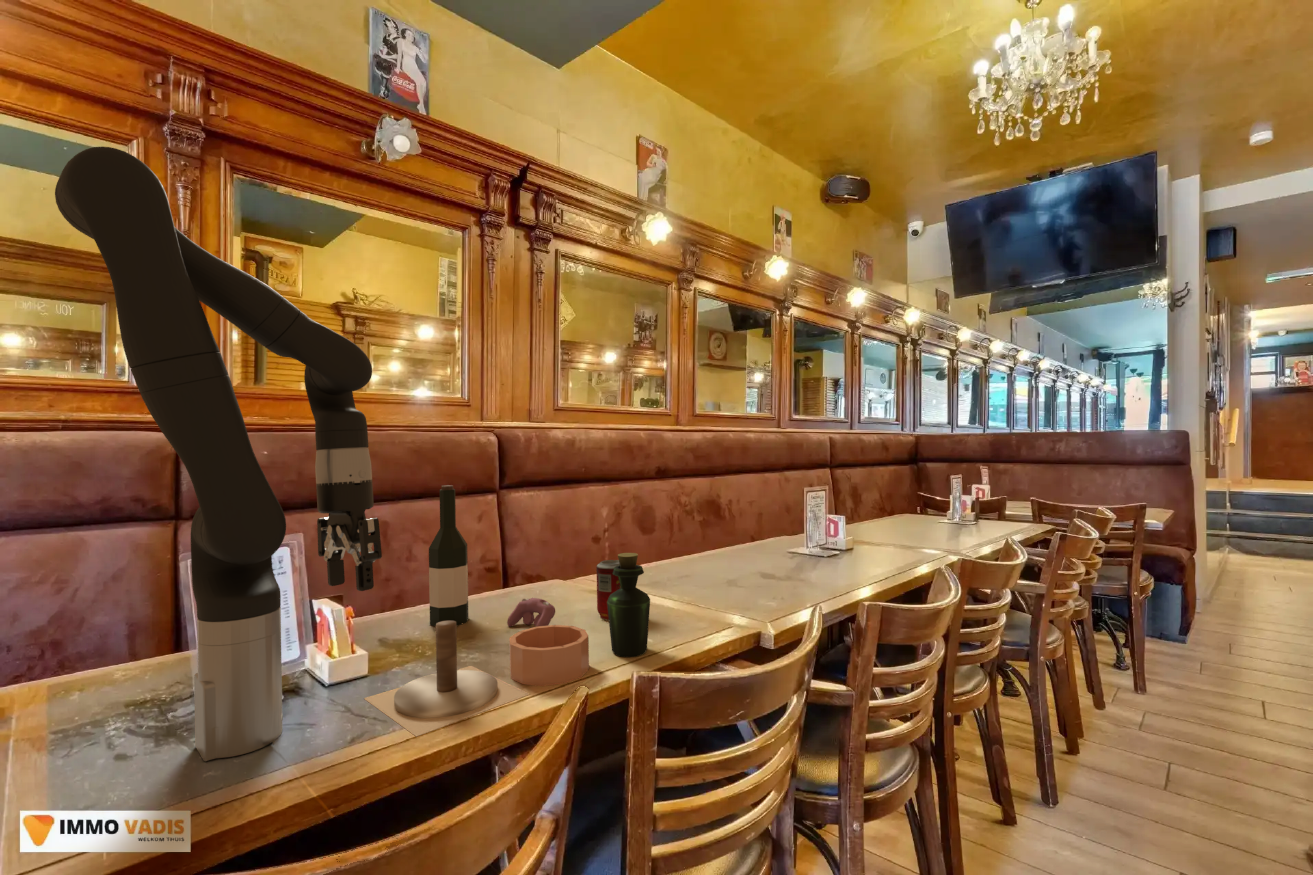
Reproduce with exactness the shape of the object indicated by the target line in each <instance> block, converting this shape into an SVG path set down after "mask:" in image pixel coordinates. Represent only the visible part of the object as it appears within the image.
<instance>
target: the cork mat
mask: <svg viewBox="0 0 1313 875" xmlns="http://www.w3.org/2000/svg"><path fill="white" fill-rule="evenodd" d="M457 670H474V671H481V672H484V671H483V670H481V669H480V668H479V669H478V668H477V667H475V666H473V665H469V666H465V667H460V668H459V669H458V668H457ZM494 677H495V676H494ZM495 678H496V679H497V684H498V691H497V694H496V696H495V697H494V698H493V699H492V700H491V701H490V702H488V703H487V704H485V705H483V706H481V707H479V708H477V709H475V710H472V711H469V712H466V713H462V714H459V715H454V716H449V717H441V718H414V717H409V716H405V715H403V714H401V713H399V712H398V711H396V709H395V707H394V695H395V693H396V692H397V690H398V689H399V688H401V687H402V686H400V687H397V688H394V689H391V690H390V689H389V690H387V691H383V692H380V693H377V694H372V695H371V696H370V695H369V696H367V697H364V698H363V699H364V700H365V701H366V702H368V703H369V704H371V705H372V707H374V708H376V709H377V710H379V711H380V712H382V713H383V714H384V715H386V716H387V717H388V718H390V719H391V720H392V721H394V722H395V723H397V724H398V725H399V726H401V727H402V728H404V730H406V731H407V732H409V733H411V734H412V735H413V736H414V737H416V738H417V737H419V736H422V735H424V734H427V733H430V732H434V731H435V730H439V729H440V728H443V727H446V726H448V725H449V726H450V725H451V724H455V723H458V722H460V721H462V720H465V719H467V718H471V717H473V716H475V715H479V714H481V713H484V712H487V711H489V710H492V709H495V708H498V707H501V706H503V705H505V704H508V703H511V702H513V701H516V700H519V699H522V698H524V697H527V696H529V695H531V694H530V693H529V692H527V691H525V690H523V689H520V688H518V687H516V686H515V685H513V684H510V683H508V682H506V681H504V680H502V679H500V678H498V677H495Z"/></svg>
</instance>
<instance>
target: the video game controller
mask: <svg viewBox="0 0 1313 875" xmlns="http://www.w3.org/2000/svg"><path fill="white" fill-rule="evenodd" d="M534 613H537V615H536V616H535V614H534ZM555 614H556V608H555V606H554V605H553V604H552V603H550V602H549V601H547V600H545V599H542V598H538V597H531V598H522V600H521V601H519V602H518V603H517V605H516V606H515V608H514V610H513V611H512V612H511V613H510V615H509V616H508V618H507V622H506V623H507V626H508V627H509V628H511V626H512V627H513V626H515V625H517V624H518V623H519V622H520V621H521V620H522V622H523V624H524V625H527V626H531V625H532V624H533V625H534V627H538V626H548V625H550V623H551V621H552V620H553V618H555V617H554V616H555Z"/></svg>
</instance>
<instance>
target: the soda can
mask: <svg viewBox="0 0 1313 875" xmlns="http://www.w3.org/2000/svg"><path fill="white" fill-rule="evenodd" d="M618 565H620V564H619V559H609V560H608V559H607V560H602V561H600V562H599V563H598V564H597V565H596V569H595V570H596V611H597V612H598V615H599V617H600V619H601V620H604V621H609V617H608V608H607V600H608V598H609V596H610V595H611V594H612V593H614V592H615V591H617V590H618V589H620V588H621V586H620V582H619V579H618V576H615V575H613V570H614V567H615V566H618Z"/></svg>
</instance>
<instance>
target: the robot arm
mask: <svg viewBox="0 0 1313 875" xmlns="http://www.w3.org/2000/svg"><path fill="white" fill-rule="evenodd" d="M58 177H59V178H58V179H57V182H56V185H55V189H54V198H55V204H56V205H57V209H58V211H59V212H60V214H61V215H62V217H63V218H64V219H65V220H66V222H68V224H69V225H70V226H72V227H73V228H74V229H76V230H77V231H78V232H80V233H82V234H83V235H85V236H86V237H89V238H91V239H93V240H94V242H95V244H96V247H97V248H98V250H99V253H100V254H101V257H102V259H103V261H104V264H105V267H106V269H107V270H108V273H109V277H110V280H111V282H112V286H113V287H112V288H113V291H114V298H115V305H116V306H115V307H116V314H117V321H118V325H119V326H118V327H119V331H120V337H121V342H122V343H121V344H122V347H123V351H124V354H125V357H126V361H127V364H128V367H129V368H130V372H131V375H132V376H133V379H134V382H135V384H136V387H137V389H138V393H140V395H141V398H142V401H143V403H144V404H145V407H146V408H147V410H148V412H149V414H150V415H151V417H152V419H153V420H154V422H155V423H156V425H157V426H158V428H159V429H160V431H161V433H162V435H163V436H164V437H165V439H166V440H167V441H168V443H169V444H170V445H171V447H172V448H173V450H174V451H175V453H176V454H177V455H178V457H179V459H180V461H181V462H182V464H183V465H184V468H185V470H186V471H187V474H188V476H189V478H190V481H191V483H192V486H193V487H192V488H193V490H194V493H195V496H196V499H197V503H198V506H199V507H198V508H197V510H196V511H195V513H194V515H193V518H192V521H191V526H190V562H191V563H190V564H191V584H192V591H193V592H192V593H193V596H194V597H193V598H194V601H195V605H196V623H197V624H196V626H197V627H196V630H197V631H196V634H197V636H196V637H197V638H196V639H197V642H196V643H197V644H196V645H197V646H196V647H197V672H196V673H195V674H194V676H193V682H194V685H193V686H194V687H193V688H194V690H193V691H194V692H193V694H194V698H193V699H194V747H195V748H196V750H197V752H198V753H199V755H200V757H201V759H202V760H203V762H208V761H211V760H215V759H223V758H231V757H237V756H240V755H244V754H249V753H251V752H255V751H257V750H260V749H262V748H265V747H266V746H268V745H270V744H272V743H273V741H276V740H277V738H278V737H280V736H281V734H282V733H283V720H284V719H283V718H284V716H283V682H282V680H283V678H282V677H283V675H282V673H283V672H282V671H283V670H282V614H281V613H282V611H281V610H282V609H281V607H282V606H281V597H282V596H281V589H280V586H279V584H278V581H277V580H276V576H275V573H274V569H273V560H272V559H273V557H272V556H274V554H276V552H277V551H278V550H279V548H280V547H281V546H282V544H283V542H284V539H285V536H286V532H287V521H286V515H285V513H284V510H283V507H282V505H281V504H280V502H279V501H278V498H277V496H276V495H275V493H274V491H273V489H272V486H271V485H270V483H269V481H268V480H267V477H266V475H265V473H264V471H263V470H262V467H261V465H260V463H259V460H258V458H257V457H256V455H255V452H254V450H253V447H252V444H251V441H250V437H249V434H248V430H247V426H246V424H245V423H246V422H245V420H244V417H243V414H242V411H241V408H240V405H239V401H238V399H237V397H236V394H235V390H234V386H233V384H232V381H231V378H230V375H229V372H228V369H227V366H226V364H225V361H224V359H223V355H222V353H221V351H220V349H219V346H218V344H217V341H216V339H215V337H214V334H213V332H212V329H211V326H210V323H209V322H208V319H207V315H206V313H205V311H204V309H203V306H202V304H204V305H205V306H207V307H208V308H209V309H211V310H213V312H215V313H217V314H218V315H220V316H221V317H223V318H224V319H225V320H226V321H228V322H230V323H231V324H232V325H233V326H235V327H237V328H238V329H240V331H242V332H243V333H244V334H246V335H247V336H249V337H250V338H251V339H253V340H254V341H256V342H257V343H259V344H260V345H261V346H262V347H264V348H265V349H267V350H269V351H270V352H272V353H273V354H275V355H277V356H279V357H282V358H290V359H294V360H295V361H298V362H300V363H301V364H302V365H305V367H304V377H303V378H304V380H303V381H304V385H305V386H304V388H305V392H306V396H307V400H308V403H309V406H310V410H311V413H312V416H313V418H314V433H315V436H314V437H315V450H316V452H315V453H316V454H315V464H314V465H315V466H314V467H315V468H314V469H315V470H314V471H315V485H316V486H315V487H316V502H317V504H316V505H317V511H318V513H320V514H328V516H327V517H320V518H317V521H316V526H317V528H316V530H317V531H316V532H317V554H318V557H320V558H321V557H323V561H325V562H326V568H327V571H326V572H327V585H329V586H330V587H335V586H341V585H343V584H344V583H345V581H346V580H345V579H346V578H345V577H346V576H345V562H344V557H345V553H346V552H347V554H350V555H351V556H352V558H353V560H354V563H355V566H354V567H355V583H356V590H357V591H358V592H364V591H368V590H369V591H370V590H372V589H374V568H373V567H374V566H373V565H374V564H373V563H375V562H376V560H380V559H382V557H383V552H382V541H381V530H380V521H379V518H378V517H370V518H367V515H366V512H365V511H366V510H370V509H372V508H373V507H374V489H373V488H374V486H373V471H372V461H371V456H370V450H369V433H368V432H369V431H368V422H367V419H366V418H367V417H366V415H365V414H364V413H363V412H362V411H360V410H358V409H357V407H356V403H355V398H354V392H355V391H359V390H361V389H362V388H364V387H365V386H367V385H368V384H369V382H370V380H371V379H372V377H373V376H372V375H373V366H372V363H371V360H370V358H369V357H368V355H367V354H366V353H365V352H364V351H363V349H361V348H360V346H358V345H357V344H356V343H354V342H353V341H351V340H350V339H348V338H347V337H345V336H343V335H341V334H340V333H338V332H336V331H334V330H332V329H331V328H329V327H327V326H325V325H323V324H321V323H319V322H317V321H315V320H314V319H312V318H310V317H309V316H308V315H307V314H306V313H304V312H303V311H301V310H300V309H299V308H298V307H297V306H296V305H294V304H293V303H292V302H290V301H289V300H288V299H286V297H284V296H283V295H281V293H279V292H278V291H276V290H275V289H273V288H272V287H271V286H269V285H268V284H266V283H265V282H263V281H262V280H260V279H258V278H256V277H254V276H253V275H251V274H249V273H248V272H247V271H244V270H242V269H240V268H238V267H236V266H234V265H233V264H231V263H229V262H226V261H225V260H223V259H221V258H219V257H217V256H216V255H215V254H214V255H213V254H212V253H211V252H209V251H207V250H205V248H202V247H201V246H200V245H198V244H197V243H195V241H192V240H191V239H190V238H189V237H187V236H186V235H185V234H184V233H182V232H181V231H180V230H179V229H178V228H177V227H175V223H174V219H173V215H172V211H171V210H172V209H171V208H170V202H169V198H168V195H167V193H166V190H165V187H164V186H163V184H162V182H161V180H160V179H159V177H158V176H157V175H156V173H154V171H153V170H151V168H150V166H148V165H147V164H145V162H143V161H142V160H140V159H139V158H138V157H136V156H135V155H133V154H130V153H129V152H126V151H125V150H122V149H118V148H116V147H115V148H114V147H112V146H111V147H110V146H93V147H89V148H87V149H84V150H82V151H80V152H78V153H77V154H75V155H74V156H73V157H72V158H70V160H68V162H67V163H66V164H65V165H64V167H63V169H62V171H61V173H60V175H59V176H58ZM372 547H373V548H372Z"/></svg>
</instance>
